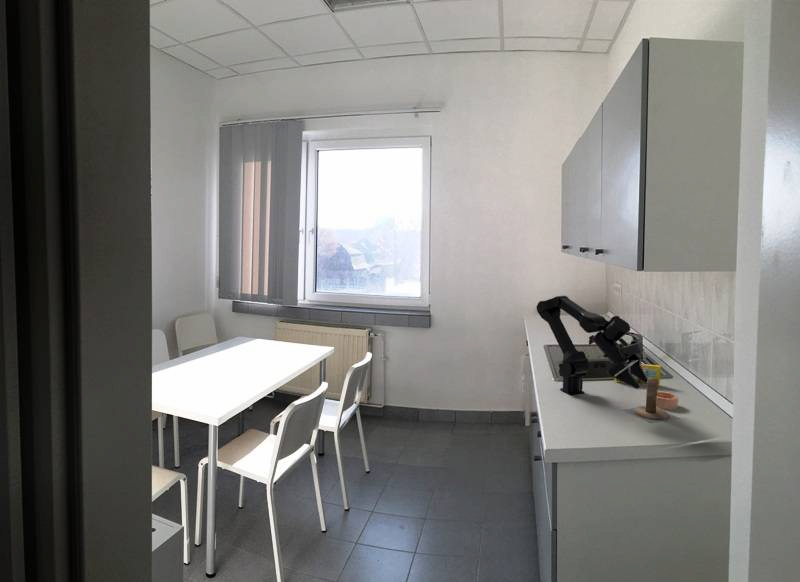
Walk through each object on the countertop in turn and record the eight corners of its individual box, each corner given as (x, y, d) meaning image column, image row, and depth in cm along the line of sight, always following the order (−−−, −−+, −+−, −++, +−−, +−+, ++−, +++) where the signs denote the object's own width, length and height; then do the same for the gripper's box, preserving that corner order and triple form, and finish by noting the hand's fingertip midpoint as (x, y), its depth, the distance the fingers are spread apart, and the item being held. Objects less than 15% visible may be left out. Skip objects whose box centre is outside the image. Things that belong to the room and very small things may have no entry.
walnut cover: (651, 421, 146) (653, 384, 145) (626, 410, 155) (628, 375, 154) (675, 417, 149) (677, 381, 148) (650, 407, 158) (652, 373, 157)
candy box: (614, 382, 187) (615, 362, 186) (614, 381, 189) (615, 361, 188) (659, 386, 182) (661, 366, 181) (658, 385, 184) (659, 364, 183)
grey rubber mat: (651, 424, 145) (651, 423, 145) (622, 411, 156) (622, 409, 156) (680, 419, 148) (680, 418, 148) (649, 407, 160) (650, 405, 160)
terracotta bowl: (664, 411, 155) (665, 400, 155) (645, 403, 163) (645, 392, 162) (682, 409, 158) (683, 397, 157) (662, 401, 165) (663, 390, 165)
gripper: (618, 337, 148) (655, 377, 142) (636, 329, 161) (670, 365, 155) (593, 357, 154) (626, 396, 148) (612, 347, 168) (643, 383, 161)
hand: (643, 384), depth 153 cm, fingers open, 9 cm apart
